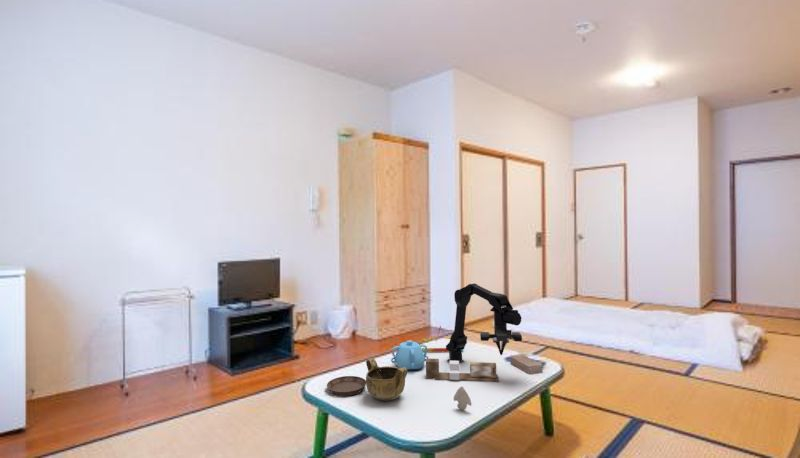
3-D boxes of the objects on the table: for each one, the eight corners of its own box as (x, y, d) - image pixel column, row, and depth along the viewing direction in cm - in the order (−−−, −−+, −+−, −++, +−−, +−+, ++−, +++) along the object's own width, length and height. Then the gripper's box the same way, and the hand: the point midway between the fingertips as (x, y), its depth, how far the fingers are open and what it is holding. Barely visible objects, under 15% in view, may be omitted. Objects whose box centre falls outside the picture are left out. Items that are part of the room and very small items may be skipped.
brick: (543, 373, 209) (543, 363, 209) (529, 375, 206) (529, 365, 206) (523, 362, 225) (523, 353, 225) (509, 364, 222) (509, 355, 222)
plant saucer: (343, 401, 180) (343, 394, 179) (319, 390, 192) (318, 383, 192) (374, 389, 192) (374, 382, 192) (349, 379, 205) (349, 373, 204)
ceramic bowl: (418, 399, 180) (418, 364, 180) (390, 412, 168) (389, 374, 168) (382, 385, 196) (381, 353, 195) (353, 396, 184) (353, 362, 183)
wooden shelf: (425, 379, 202) (425, 362, 202) (426, 373, 210) (426, 357, 210) (499, 382, 198) (498, 364, 198) (497, 375, 206) (497, 359, 205)
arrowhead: (452, 409, 170) (451, 384, 170) (455, 406, 172) (454, 382, 172) (470, 414, 166) (469, 388, 165) (473, 411, 168) (472, 386, 167)
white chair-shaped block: (449, 379, 200) (449, 366, 199) (449, 372, 208) (449, 360, 208) (459, 379, 199) (459, 367, 199) (459, 372, 208) (458, 360, 208)
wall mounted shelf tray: (470, 377, 201) (470, 364, 201) (470, 374, 205) (470, 362, 205) (496, 378, 200) (496, 365, 200) (495, 375, 203) (495, 362, 203)
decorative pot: (432, 366, 220) (432, 340, 220) (411, 375, 208) (411, 347, 208) (408, 359, 231) (408, 334, 231) (387, 367, 219) (387, 341, 219)
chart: (410, 353, 242) (409, 327, 242) (409, 351, 246) (409, 326, 245) (463, 352, 242) (463, 326, 242) (462, 351, 246) (462, 325, 245)
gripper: (480, 325, 194) (481, 359, 194) (523, 325, 191) (524, 360, 191) (479, 320, 205) (480, 352, 205) (519, 320, 202) (520, 353, 202)
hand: (501, 354), depth 201 cm, fingers closed
